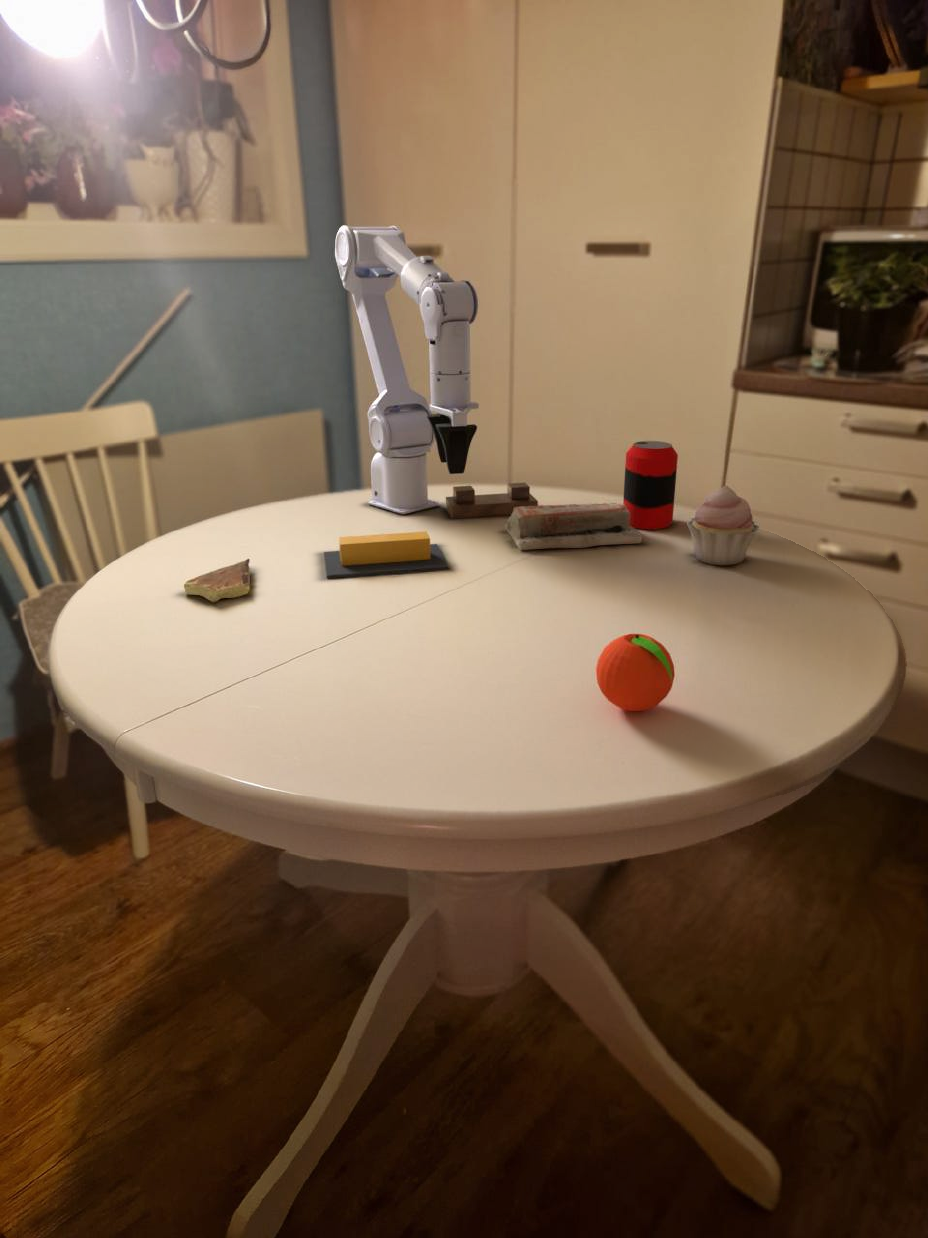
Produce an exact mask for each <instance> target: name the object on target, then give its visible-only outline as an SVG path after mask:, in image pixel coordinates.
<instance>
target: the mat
mask: <svg viewBox="0 0 928 1238" xmlns="http://www.w3.org/2000/svg"><path fill="white" fill-rule="evenodd" d="M430 554H431V559H429V560H416V561H402V562H388V563H374V564H361V565H347V566H342V565H341V560H340V550H333V551H331V550H330V551H323V558H324V566H325V574H326V575H325V576H326V579H335V578H348V577H349V578H350V577H363V576H365V577H366V576H375V575H376V576H377V575H389V574H390V575H391V574H403V573H404V574H405V573H416V572H417V573H418V572H429V571H430V572H431V571H441V570H442V571H443V570H450V567H449V565H448V562H447V560H446V559H445V556H444V555H443V553H442V550H441V549H440V547H439V545H438V544H437V543H430Z"/></svg>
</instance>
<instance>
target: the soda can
mask: <svg viewBox="0 0 928 1238" xmlns="http://www.w3.org/2000/svg"><path fill="white" fill-rule="evenodd" d="M678 458H679V454H678V453H677V451H676V449H675V448H674V447H673V445H672V444H671V443H669V442H666V441H657V440H643V441H637V442H636V441H635V442H634V443H632V446H630V448H629V449H628V450H627V451H626V453H625V462H624V465H625V466H624V482H623V484H624V485H623V499H622V505H625V506H626V508H627V510H628V511H629V512H630V523H629V525H630V526H632V527H633V528H635V529H637V530H639V529H640V530H661V529H665V528H668V527H670V526H671V525H672V524H673V522H674V521H673V520H674V510H675V509H674V508H675V495H676V485H677V484H676V482H677V471H678V460H679V459H678Z"/></svg>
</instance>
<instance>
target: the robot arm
mask: <svg viewBox="0 0 928 1238" xmlns="http://www.w3.org/2000/svg"><path fill="white" fill-rule="evenodd" d="M405 235H406V234H405V232H404V231H402V230H401V228H399V227H398V226H397V225H390V226H349V225H342V226H341V227H340V228H339V229H338V231H337V233H336V237H335V242H334V243H335V247H334V257H335V258H334V259H335V261H336V265H337V269H338V272H339V277H340V279H341V283H342V286H343V288H344V290H346V291H348V292H349V293H351V295H352V299H353V303H354V306H355V310H356V314H357V318H358V321H359V325H360V329H361V333H362V337H363V340H364V344H365V348H366V351H367V355H368V358H369V362H370V366H371V370H372V374H373V377H374V381H375V385H376V388H377V393H378V397H377V398H376V399H375V400H374V401H373V402H372V404H371V405H370V406H369V408H368V411H367V420H368V434H369V439H370V443H371V445H372V447H373V448H374V449H375V451H376V453H375V454H374V455H373V458H372V459H371V463H370V482H371V500H368V503H367V504H368V505H371V506H374V507H377V508H380V509H384V510H387V511H390V512H393V513H397V514H400V515H407V514H410V513H415V512H419V511H422V510H426V509H430V508H433V507H439V506H440V502H438V501H435V500H431V499H429V493H428V491H429V490H428V462H427V461H428V458H427V454H428V453H431V447H433V446H434V445H435V444H436V448H437V454H438V458H439V461H440V463H446V466H447V470H448V474H449V475H458V474H459V475H460V474H465V470H466V465H467V460H468V456H469V450H470V446H471V443H472V441H473V438H474V437H475V435H476V432H477V430H478V426H477V425H476V424H475V423H474V424H473V423H472V424H468V414H469V413H470V412H471V411H472V410H477V409H478V410H479V409H480V406H479V405H480V404H479V402H477V401H471V400H472V399H471V324H473V323H474V322H475V320H476V318H477V315H478V310H479V299H478V298H479V297H478V293H477V291H476V288H475V287H474V285H473V283H471V281H470V280H467V279H463V280H462V279H461V280H459V281H458V280H457V281H456V280H454V279H453V278H452V277H451V275H450V274H449V273H448V272H447V271H444V270H443V269H442V268H441V267H440V266H439V265H438V264H436V263H435V259H434V258H433V257H432V256H431V255H420V256H417V255H416V254H415V253H414V252H413V251H412V250H411V249H410V248H409V247H408V245H407V243H406V236H405ZM398 278H400V285H401V288H402V290H403V292H405V293H406V294H407V295H408V296H409V297H410V298H411V299H412V300H413V301H414V302H415V303H416V304H417V305H418V306H419V311H420V315H421V319H422V321H423V325H424V335H425V338H426V339H427V340H428V348H429V353H428V354H429V383H430V384H429V386H430V388H429V389H430V404H428V400H427V398H426V397H425V396H423V395H422V394H420V393H419V392H417V391H415V390H414V389H412V388H411V387H410V384H409V380H408V376H407V373H406V369H405V365H404V362H403V357H402V355H401V354H402V353H401V351H400V346H399V343H398V342H399V341H398V338H397V335H396V331H395V328H394V323H393V321H392V317H391V313H390V310H389V305H388V302H387V298H386V294H387V292H389V291H390V290H392V289H393V288H395V287H396V284H397V281H398Z"/></svg>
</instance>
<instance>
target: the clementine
mask: <svg viewBox="0 0 928 1238" xmlns="http://www.w3.org/2000/svg"><path fill="white" fill-rule="evenodd" d="M595 674H596V683H597V685H598V687H599V690H600V692H601V693H602V694H603V696H604V697H605V699H606V700H607V701H608V702H609V703H611V704H612V705H614V706H616V707H617V708H619V709H621V710H623V711H629V712H643V711H646V710H649V709H653V708H654V707H656V706H658V705H659V704H660V703H662V702H663V701H664V700H665V699H666V698H667V697H668V695H669V693H670V692H671V690H672V687H673V683H674V680H675V665H674V661H673V659H672V657H671V654H670V651H668V649H667V648H666V647H665V646H664V645H663V644H662V643H661V642H660V641H658V640H656V639H655V638H653V637H652V636H649V635H647V634H643V633H627V634H624V635H621V636H619V637H616V638H615V639H613V640H611V641H610V642H609V643H608V644H607V645H606V646H605V647H604V648H603V649H602V651H601V653H600V655H599V657H598V659H597V662H596V668H595Z"/></svg>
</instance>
